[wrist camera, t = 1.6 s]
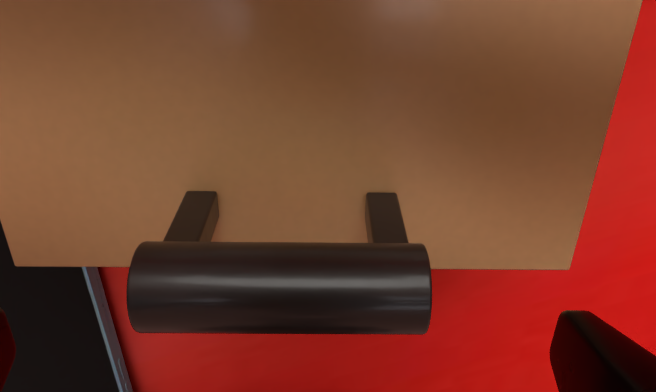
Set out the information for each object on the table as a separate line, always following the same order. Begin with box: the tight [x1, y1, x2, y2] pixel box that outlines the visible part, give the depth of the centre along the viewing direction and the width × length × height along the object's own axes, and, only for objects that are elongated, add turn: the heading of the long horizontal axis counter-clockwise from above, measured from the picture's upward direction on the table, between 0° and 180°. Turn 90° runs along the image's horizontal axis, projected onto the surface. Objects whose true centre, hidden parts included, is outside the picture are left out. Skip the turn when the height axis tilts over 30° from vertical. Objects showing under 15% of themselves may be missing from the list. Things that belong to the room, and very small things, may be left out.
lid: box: [0, 0, 643, 335], centre depth 9 cm, size 11×13×4 cm
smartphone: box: [0, 221, 133, 392], centre depth 22 cm, size 7×1×15 cm
